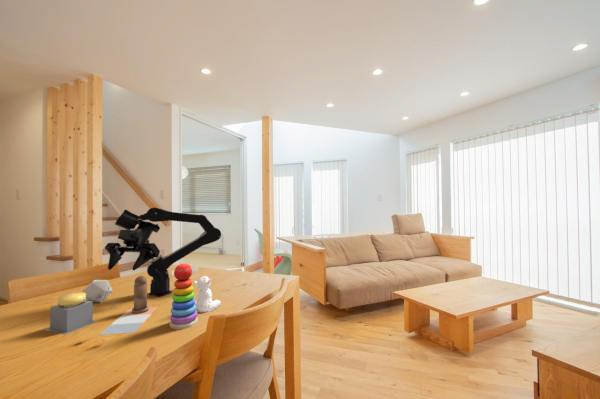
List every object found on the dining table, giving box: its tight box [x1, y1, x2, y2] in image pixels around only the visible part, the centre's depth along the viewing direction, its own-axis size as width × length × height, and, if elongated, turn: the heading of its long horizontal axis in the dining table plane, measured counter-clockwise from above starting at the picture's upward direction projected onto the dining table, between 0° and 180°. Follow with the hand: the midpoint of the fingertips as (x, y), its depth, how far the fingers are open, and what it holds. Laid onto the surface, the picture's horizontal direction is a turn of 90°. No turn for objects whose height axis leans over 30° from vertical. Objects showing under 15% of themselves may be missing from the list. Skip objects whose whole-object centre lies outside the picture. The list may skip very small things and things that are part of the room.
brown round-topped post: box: [132, 275, 149, 314], centre depth 92 cm, size 5×5×12 cm
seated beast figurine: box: [193, 275, 222, 313], centre depth 95 cm, size 10×9×12 cm
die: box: [82, 279, 114, 304], centre depth 104 cm, size 8×9×10 cm
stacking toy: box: [168, 263, 199, 330], centre depth 83 cm, size 8×8×19 cm
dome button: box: [57, 292, 87, 308], centre depth 81 cm, size 6×6×7 cm
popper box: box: [44, 300, 99, 335], centre depth 81 cm, size 9×9×7 cm
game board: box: [98, 306, 158, 336], centre depth 85 cm, size 20×9×1 cm, turn 10°
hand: (121, 269), depth 97 cm, fingers open, 9 cm apart
